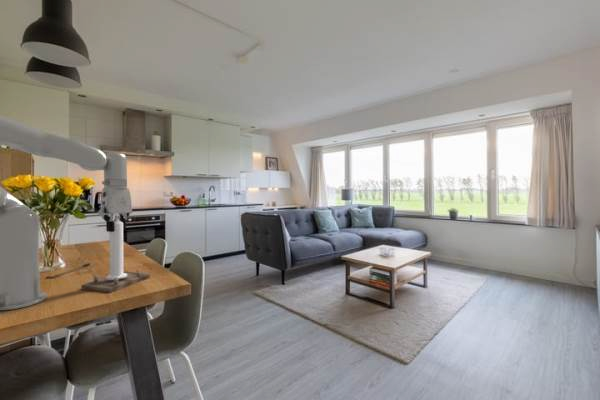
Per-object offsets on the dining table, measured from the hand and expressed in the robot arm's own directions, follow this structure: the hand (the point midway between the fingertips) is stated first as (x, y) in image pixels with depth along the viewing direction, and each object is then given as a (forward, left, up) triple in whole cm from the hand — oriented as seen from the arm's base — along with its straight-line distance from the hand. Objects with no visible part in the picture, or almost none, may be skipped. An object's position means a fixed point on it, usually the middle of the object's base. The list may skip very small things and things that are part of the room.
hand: (116, 230), depth 109 cm
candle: (0, 0, -19) cm, 19 cm away
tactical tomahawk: (+7, +33, -22) cm, 40 cm away
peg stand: (0, 0, -21) cm, 21 cm away
